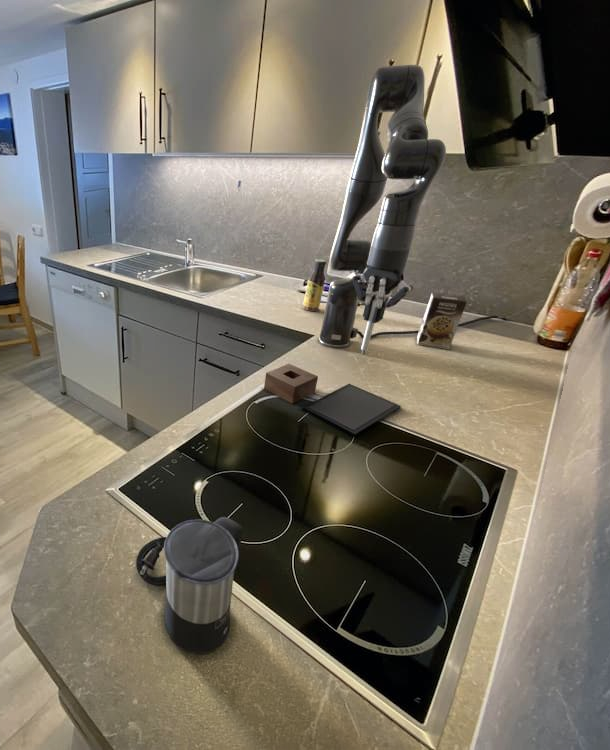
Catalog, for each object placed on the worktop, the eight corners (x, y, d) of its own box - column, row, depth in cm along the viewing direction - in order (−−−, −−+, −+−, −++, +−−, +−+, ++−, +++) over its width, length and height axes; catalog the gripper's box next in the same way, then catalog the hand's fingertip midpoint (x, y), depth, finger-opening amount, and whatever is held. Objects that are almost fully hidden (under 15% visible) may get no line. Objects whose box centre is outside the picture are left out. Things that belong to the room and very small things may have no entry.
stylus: (361, 352, 103) (375, 299, 96) (367, 354, 102) (381, 300, 95) (358, 353, 102) (372, 300, 95) (364, 355, 101) (377, 301, 94)
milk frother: (221, 668, 52) (231, 594, 45) (109, 623, 57) (102, 550, 50) (242, 573, 64) (252, 503, 57) (147, 543, 69) (145, 475, 62)
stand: (286, 379, 118) (288, 363, 115) (314, 392, 111) (318, 376, 108) (263, 388, 113) (265, 372, 111) (292, 403, 106) (295, 386, 104)
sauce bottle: (299, 307, 170) (307, 259, 161) (311, 305, 172) (320, 257, 163) (310, 312, 165) (319, 262, 155) (322, 310, 167) (332, 261, 157)
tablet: (348, 386, 114) (349, 383, 113) (400, 408, 103) (401, 405, 103) (302, 409, 104) (302, 406, 103) (354, 437, 93) (355, 433, 93)
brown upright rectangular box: (417, 344, 137) (432, 297, 129) (416, 337, 142) (431, 291, 134) (449, 349, 133) (467, 301, 125) (448, 342, 138) (464, 295, 130)
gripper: (432, 248, 86) (409, 326, 95) (370, 238, 96) (353, 310, 105) (414, 253, 83) (391, 333, 91) (351, 242, 93) (336, 316, 101)
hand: (371, 320), depth 98 cm, fingers closed on stylus, 1 cm apart
